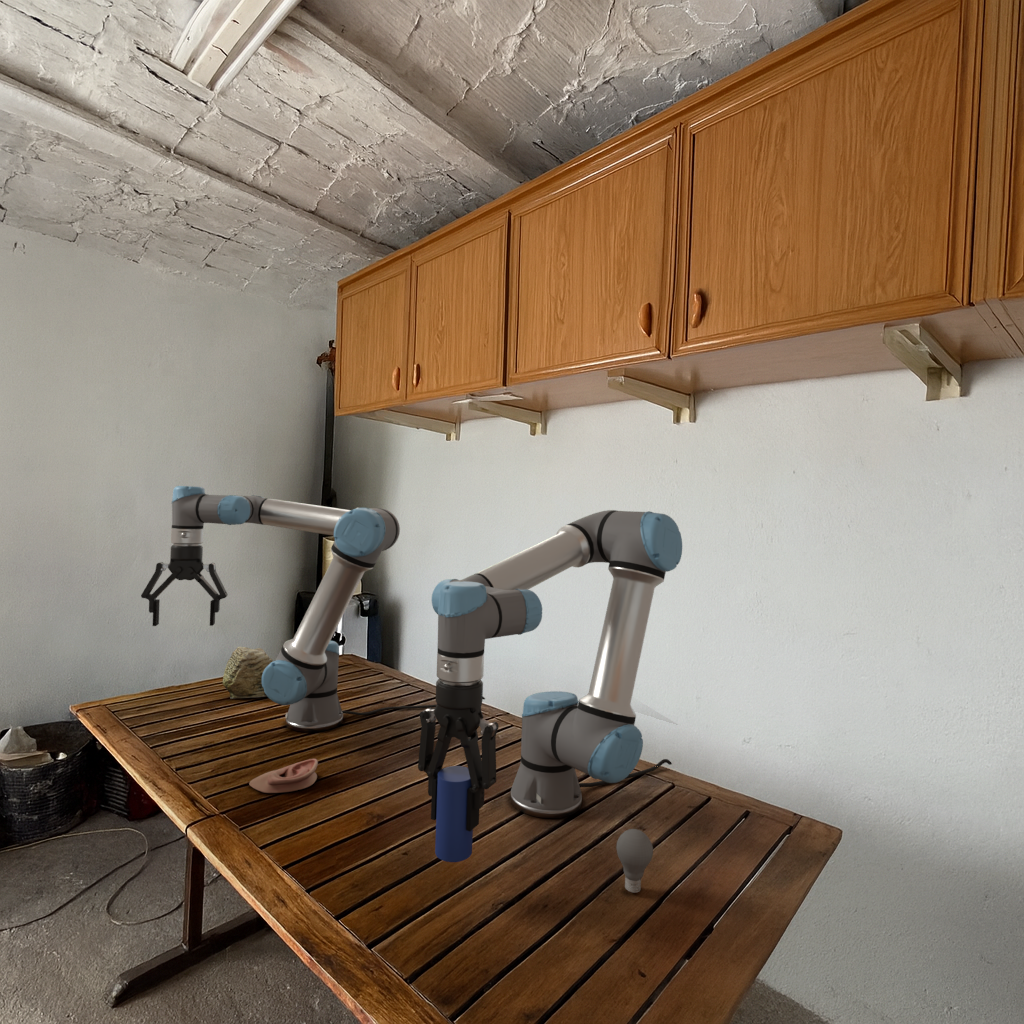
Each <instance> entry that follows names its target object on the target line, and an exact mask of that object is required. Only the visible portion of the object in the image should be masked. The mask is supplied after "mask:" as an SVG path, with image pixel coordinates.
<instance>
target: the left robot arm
mask: <svg viewBox="0 0 1024 1024" xmlns="http://www.w3.org/2000/svg"><path fill="white" fill-rule="evenodd" d="M172 490H173V491H172V500H171V529H170V531H171V532H170V543H171V544H173V545H171V546H170V557H169V558H170V559H169V563H166V562H163V561H160V562H157V563H156V564H155V570H154V573H153V574H152V576H151V577H150V579H149V581H148V583H147V585H146V586H145V588H144V590H143V591H142V593H141V595H140V597H141V599H145V600H147V601H148V612H149V613H150V614H152V627H157V626H158V625H160V599H157V598H158V597H159V596H160V595H161V594H162V593H163V592H164V591H165V590H166V589H167V588H168V587H169V586H170V585H171V584H172V583H173V582H174V581H175V580H178V581H184V580H185V581H193V580H195V581H196V582H197V583H198V584H199V585H200V586H201V587H202V588H203V590H205V592H206V593H207V594H208V595H209V596H210V597H211V600H210V603H209V604H210V605H209V606H210V608H209V626H210V627H213V626H214V625H215V624H216V613H219V612H220V609H221V606H220V605H221V600H223V599H226V598H227V597H228V592H227V590H226V588H225V586H224V584H223V582H222V580H221V577H220V576H219V574H218V572H217V570H216V569H217V567H216V563H215V562H211V563H204V562H203V552H204V551H203V550H204V547H203V545H202V544H203V543H204V524H215V525H217V524H218V525H228V526H233V525H234V526H235V525H244V524H255V525H260V526H261V525H263V526H271V527H277V528H284V529H290V530H294V531H295V530H296V531H301V532H308V533H309V532H310V533H314V534H315V533H316V534H321V535H327V536H333V538H334V541H333V544H332V546H331V547H330V551H331V555H332V559H331V562H330V563H329V566H328V567H327V569H326V571H325V574H324V575H323V577H322V579H321V581H320V583H319V585H318V587H317V590H316V591H315V594H314V596H313V597H312V600H311V602H310V604H309V605H308V608H307V610H306V611H305V613H304V616H303V617H302V620H301V622H300V624H299V626H298V628H297V631H296V632H295V634H294V636H293V638H291V639H288V640H286V641H285V642H284V643H283V645H282V647H281V648H280V650H279V653H278V655H277V656H276V658H275V659H274V660H273V662H271V663H270V664H269V665H268V666H267V667H266V668H265V670H264V671H263V674H262V687H263V688H264V692H265V694H266V695H267V696H266V697H267V698H268V699H269V700H271V702H273V703H275V704H277V705H281V706H289V708H288V711H287V712H285V726H286V728H287V729H289V730H291V731H294V732H295V731H296V732H301V733H316V732H325V731H329V730H332V729H335V728H337V727H339V726H340V725H342V723H343V722H344V714H346V715H354V716H369V715H372V714H373V715H374V714H376V713H379V712H383V711H391V710H413V709H415V710H416V709H428V708H432V709H434V708H435V707H436V705H437V704H426V705H425V704H423V705H400V706H399V705H397V706H387V707H381V708H377V709H374V710H371V711H365V712H357V711H353V710H343V709H342V706H341V702H340V699H339V695H338V682H339V662H340V661H339V660H340V645H339V643H338V642H337V641H335V640H332V638H333V636H334V634H335V632H336V630H337V628H338V626H339V624H340V622H341V620H342V618H343V616H344V614H345V612H346V610H347V609H348V606H349V604H350V602H351V600H352V598H353V596H354V594H355V593H356V590H357V588H358V586H359V584H360V582H361V580H362V578H363V576H364V574H365V572H367V571H370V570H372V569H374V567H375V566H376V563H377V562H378V560H379V558H380V556H381V554H382V552H384V551H387V550H389V549H391V548H392V547H393V546H394V545H395V544H396V543H397V541H398V539H399V536H400V530H401V527H400V523H399V520H398V519H397V517H396V516H395V514H393V513H392V512H391V511H390V510H388V509H385V508H382V507H356V508H353V509H351V510H350V509H344V508H338V507H330V506H324V505H316V504H310V503H301V502H297V501H289V500H283V499H276V498H268V497H264V496H262V495H261V496H260V495H254V494H253V495H235V494H233V495H232V494H207V493H206V489H205V487H203V486H194V485H193V486H192V485H191V486H189V485H176V486H175V487H174V488H173V489H172ZM166 569H168V570H169V572H170V573H171V574H170V575H169V576H168V577H167V578H166V579H165V580H164V581H163V582H162V583H161V585H159V586H158V587H157V589H156V590H154V591H153V589H154V587H155V586H156V584H157V582H158V581H159V579H160V577H161V576H162V574H163V572H165V571H166ZM204 569H205V571H206V572H207V573H209V576H210V578H211V580H212V581H213V584H214V586H215V588H216V590H217V591H216V590H215V589H214V587H212V585H211V584H210V583H209V581H208V580H207V579H206V577H204V575H203V574H202V571H203V570H204ZM152 591H153V592H152ZM151 592H152V593H151ZM482 700H486V698H485V697H484V696H483V698H482Z"/></svg>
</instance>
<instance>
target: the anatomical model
mask: <svg viewBox="0 0 1024 1024" xmlns="http://www.w3.org/2000/svg"><path fill="white" fill-rule="evenodd" d="M318 764H319V761H318V759H317V758H309V759H305V760H302V761H299V762H296V763H293V764H290V765H289V764H288V765H287V766H284V767H281V768H279V769H274V770H271V771H268V772H265V773H263V774H260V775H258V776H256V777H254V778H252V779H251V780H250V781H249V783H248V784H249V785H248V786H250V787H251V788H253V789H254V790H256V791H258V792H261V793H264V794H279V793H289V792H295V791H298V790H303V789H306V788H309V787H311V786H312V785H313V784H315V782H316V781H317V778H318V775H317V773H316V770H317V768H318Z"/></svg>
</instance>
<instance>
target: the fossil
mask: <svg viewBox="0 0 1024 1024" xmlns="http://www.w3.org/2000/svg"><path fill="white" fill-rule="evenodd" d="M273 661H274V660H273V659H272V658H271V657H270V656H269V655H268V654H267V653H266V652H265V650H264V649H263V648H260V647H258V648H251V647H247V646H246V647H245V646H238V647H237V648H236V649H235V650H233V651H232V653H231V656H230V657H229V659H228V660H227V663H226V666H225V668H224V671H223V675H222V676H223V677H222V685H223V687H224V688H225V690H226V691H228V693H229V698H230V699H250V698H264V697H268V696H267V695H266V694H265V692H264V688H263V687H262V674H263V671H264V670H265V668H266V667H267V666H268V665H269V664H270V663H271V662H273Z"/></svg>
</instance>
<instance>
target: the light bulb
mask: <svg viewBox="0 0 1024 1024" xmlns="http://www.w3.org/2000/svg"><path fill="white" fill-rule="evenodd" d="M615 849H616V854H617V857H618V859H619V861H620V863H621V865H622V867H623V873H624V874H623V875H624V876H625V878H624V888H625V890H627V891H628V892H630V893H634V894H635V893H639V892H640V891H641V889H642V887H641V886H642V879H643V877H644V875H645V871H646V868H647V867H648V866H649V864H650V863H651V861H652V859H653V855H654V847H653V843H652V841H651V838H649V836H648V835H647V834H646V833H645V832H643V831H642V830H641V829H636V828H629V829H627V830H625V831H623V832H622V833H621V834H620V835H619V837H618V839H617V841H616V847H615Z"/></svg>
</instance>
